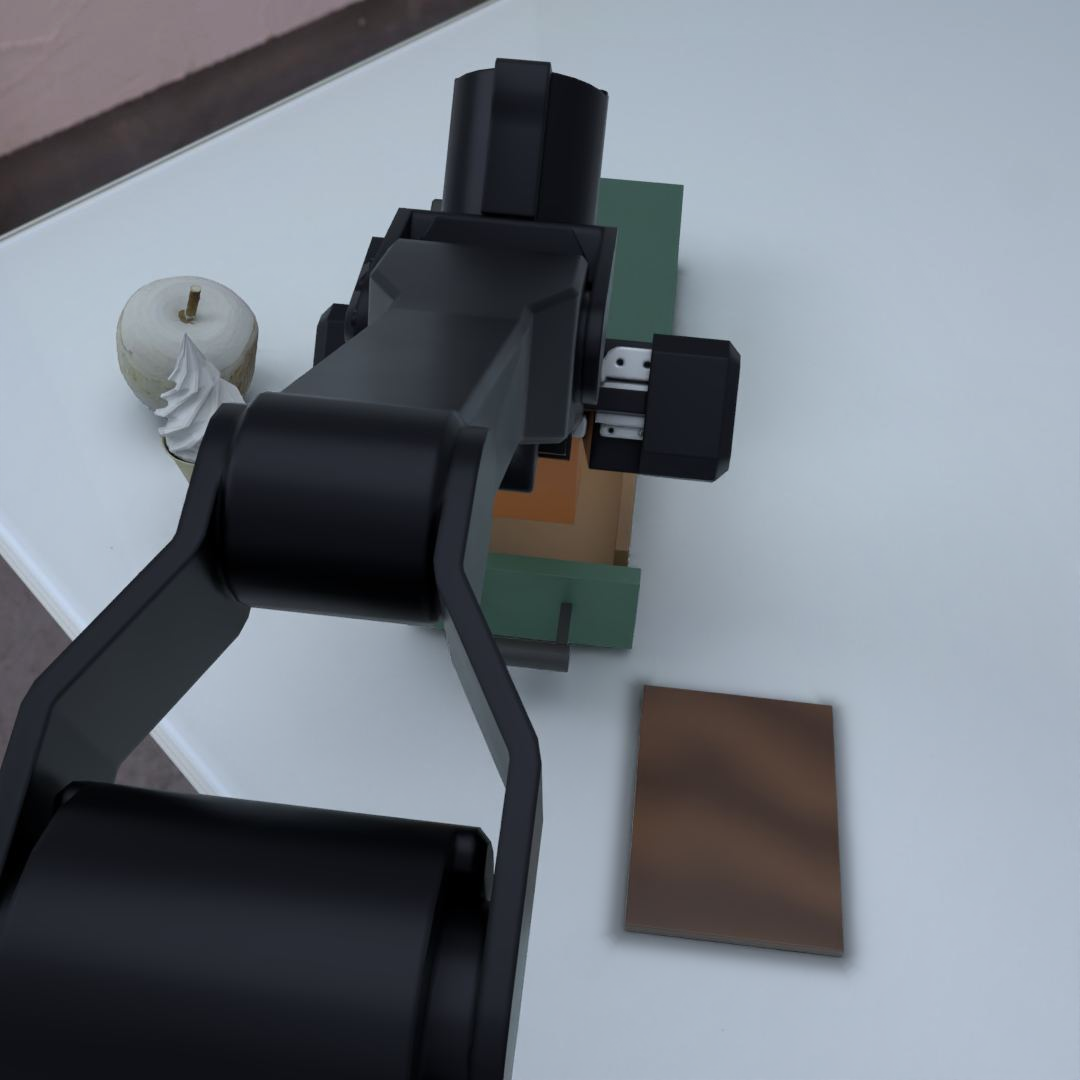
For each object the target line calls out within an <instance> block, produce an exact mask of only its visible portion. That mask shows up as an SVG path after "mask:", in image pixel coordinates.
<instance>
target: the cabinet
mask: <svg viewBox="0 0 1080 1080" xmlns="http://www.w3.org/2000/svg"><path fill="white" fill-rule="evenodd" d="M684 189H685V186H684V184H679V183H666V182H655V181H644V180H632V179H621V178H608V177H601V178H600V187H599V197H598V207H597V216H596V225H600V226H611V227H618V234H617V244H616V254H615V264H614V273H613V283H612V292H611V300H610V308H609V316H608V324H607V332H606V338H609V339H620V340H630V341H641V342H651V343H652V341H653V333H655V334H666V335H673V329H674V315H675V306H676V305H675V303H676V290H677V289H676V288H677V277H678V265H679V253H680V239H681V228H682V217H683V204H684V203H683V202H684ZM641 436H643V432H641Z"/></svg>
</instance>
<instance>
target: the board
mask: <svg viewBox="0 0 1080 1080" xmlns="http://www.w3.org/2000/svg"><path fill="white" fill-rule="evenodd" d="M642 689H643V690H642V697H641V699H642V700H641V711H640V721H639V723H640V724H639V737H638V749H637V761H636V775H635V785H634V798H633V799H634V800H633V811H632V824H631V837H630V849H629V861H628V875H627V887H626V899H625V911H624V924H623V929H624V931H627V932H635V933H636V932H637V933H644V934H651V935H652V934H653V935H659V936H667V937H675V938H683V939H693V940H700V941H709V942H717V943H725V944H733V945H741V946H749V947H758V948H766V949H772V950H773V949H774V950H781V951H788V952H789V951H790V952H798V953H805V954H806V953H808V954H814V955H823V956H829V957H839V958H840V957H842V956H843V954H844V951H845V946H844V926H843V924H844V923H843V905H842V885H841V884H842V881H841V862H840V861H841V860H840V841H839V840H840V839H839V838H840V837H839V817H838V797H837V776H836V775H837V774H836V756H835V732H834V713H833V712H834V709H833V705H831V704H830V705H829V704H821V703H812V702H803V701H802V702H801V701H795V700H784V699H776V698H768V697H757V696H750V695H749V696H748V695H741V694H740V695H739V694H731V693H721V692H712V691H704V690H694V689H685V688H676V687H669V686H668V687H667V686H660V685H659V686H658V685H650V684H644V685H643V688H642Z"/></svg>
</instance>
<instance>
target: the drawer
mask: <svg viewBox="0 0 1080 1080" xmlns="http://www.w3.org/2000/svg"><path fill="white" fill-rule="evenodd" d="M639 434H640V436H641V432H640V433H639ZM637 479H638V474H634V473H624V472H614V471H604V470H594V469H589V468H588V463H587V459H586V454H585V449H584V445H583V452H582V466H581V477H580V484H579V491H578V498H577V505H576V512H575V519H574V524H573V525H572V524H562V523H553V522H543V521H533V520H524V519H514V518H504V517H495V516H492V525H491V534H490V542H489V549H488V557H487V564H486V571H485V577H484V584H483V590H482V597H481V603H480V608H481V610H482V612H483V615H484V617H485V619H486V621H487V624H488V626H489V628H490V631H491V633H492V635H494V636H493V637H494V640H495V642H496V644H497V646H498V649H499V651H500V653H501V655H502V658H503V660H504V662H505V664H506V667H507V666H508V667H515V668H522V669H523V668H524V669H534V670H542V671H551V672H560V673H568V672H569V667H570V657H571V645H570V644H575V645H585V646H586V645H587V646H595V647H603V648H605V647H606V648H613V649H623V650H633V645H634V637H635V628H636V622H637V621H636V620H637V612H638V611H637V610H638V604H639V598H640V597H639V596H640V595H639V594H640V588H641V580H642V579H641V578H642V568H641V567H635V566H629V559H630V550H631V539H632V532H633V520H634V511H635V510H634V509H635V499H636V489H637ZM411 626H412V627H417V626H416V625H411ZM421 627H422V628H426V627H425V626H420V628H421ZM429 628H431V629H441V630H445V627H444V622H443V619H442V620H441V621H440V622H439V623H437V624H436V625H435V626H434V627H429ZM500 636H503V637H500ZM505 636H506V637H505ZM511 637H514V638H511ZM518 638H519V639H518ZM529 639H531V640H529ZM537 640H541V641H537ZM547 641H548V642H547ZM549 641H550V642H549Z"/></svg>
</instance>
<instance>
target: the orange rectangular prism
mask: <svg viewBox="0 0 1080 1080" xmlns="http://www.w3.org/2000/svg"><path fill="white" fill-rule="evenodd" d="M582 416H583V415H582ZM582 452H583V440H582V438H573V437H572V444H571V454H570V461H565V460H555V459H545V458H538V459H537V469H536V478H535V487H534V490H533V492H532V493H529V494H527V493H517V492H508V491H497V493H496V495H495V497H494V503H493V514H492V516H495V517H504V518H514V519H524V520H533V521H543V522H553V523H562V524H572V525H573V524H574V519H575V512H576V505H577V498H578V491H579V484H580V477H581V466H582Z"/></svg>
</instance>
